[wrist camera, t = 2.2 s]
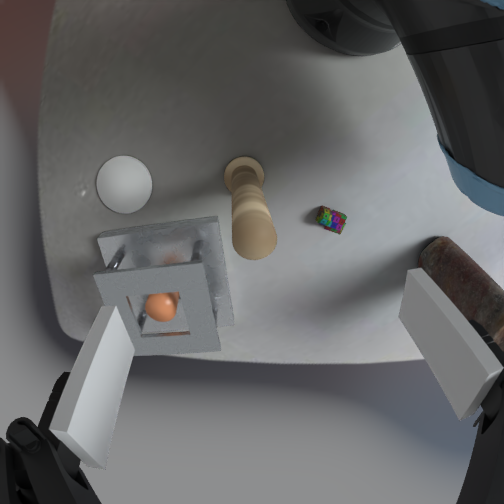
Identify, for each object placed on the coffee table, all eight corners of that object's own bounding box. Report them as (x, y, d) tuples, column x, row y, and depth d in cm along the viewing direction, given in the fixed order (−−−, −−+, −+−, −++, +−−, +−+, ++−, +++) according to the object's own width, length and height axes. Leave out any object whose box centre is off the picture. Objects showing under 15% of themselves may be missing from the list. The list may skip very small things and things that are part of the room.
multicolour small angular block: (311, 224, 39) (316, 232, 37) (320, 204, 37) (326, 211, 35) (339, 234, 40) (345, 242, 37) (349, 215, 38) (356, 222, 36)
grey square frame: (102, 232, 37) (77, 264, 29) (218, 215, 37) (215, 247, 30) (134, 324, 44) (120, 363, 36) (233, 315, 44) (235, 358, 37)
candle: (419, 286, 44) (487, 377, 26) (407, 252, 41) (488, 345, 23) (455, 260, 42) (532, 339, 25) (446, 224, 39) (537, 303, 22)
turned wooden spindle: (221, 158, 34) (214, 211, 19) (261, 154, 34) (288, 203, 19) (226, 195, 36) (224, 274, 21) (264, 191, 36) (290, 266, 21)
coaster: (92, 161, 32) (91, 162, 32) (146, 150, 33) (145, 150, 32) (105, 216, 36) (104, 217, 35) (157, 207, 36) (156, 209, 35)
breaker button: (148, 278, 37) (141, 298, 33) (176, 275, 37) (171, 295, 33) (155, 302, 38) (149, 322, 35) (183, 300, 38) (179, 320, 35)
